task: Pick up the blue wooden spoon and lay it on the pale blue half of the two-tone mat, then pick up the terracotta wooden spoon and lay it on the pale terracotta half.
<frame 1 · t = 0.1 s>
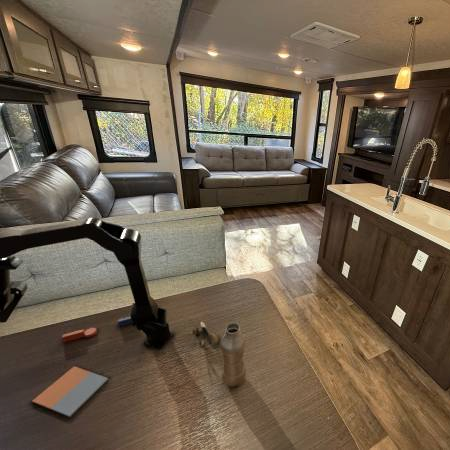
blue spoon: (132, 321, 88), on the table
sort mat: (72, 390, 66), on the table
terracotta spoon: (80, 336, 81), on the table
plastic bottle: (234, 379, 72), on the table
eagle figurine: (206, 342, 83), on the table
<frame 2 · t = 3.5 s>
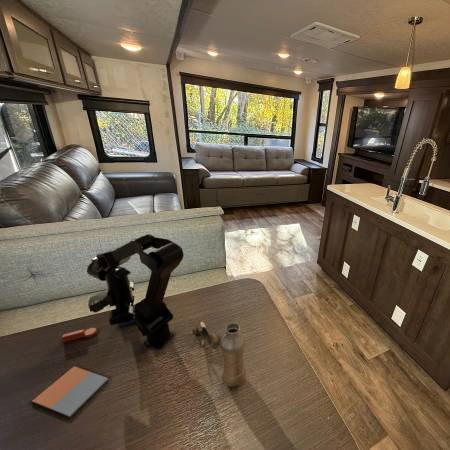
hand: (127, 320, 87), 1 cm above the table, tool pointing down, fingers closed on blue spoon, 1 cm apart
blue spoon: (132, 321, 88), on the table, touching gripper
everything else where it was.
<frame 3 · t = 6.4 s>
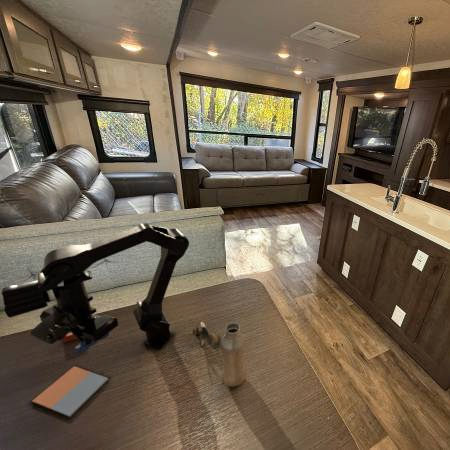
hand: (87, 343, 67), 10 cm above the table, tool pointing down, fingers closed on blue spoon
blue spoon: (93, 342, 69), point 9 cm above the table, touching gripper
everything else where it was.
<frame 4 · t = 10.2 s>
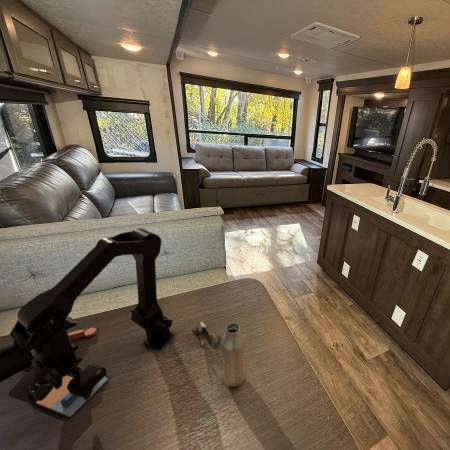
hand: (73, 392, 63), 2 cm above the table, tool pointing down, fingers open, 9 cm apart
blue spoon: (81, 392, 65), resting on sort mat
everything else where it was.
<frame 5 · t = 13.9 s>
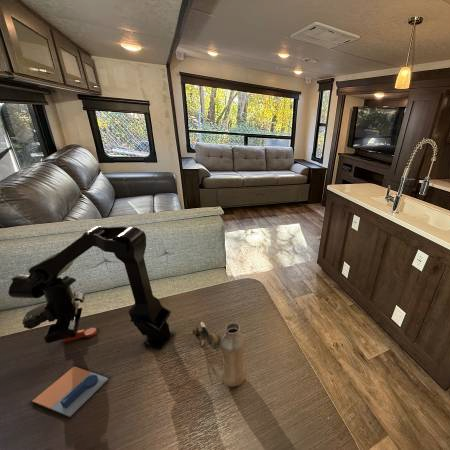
hand: (73, 335, 79), 1 cm above the table, tool pointing down, fingers closed on terracotta spoon, 1 cm apart
terracotta spoon: (80, 336, 81), on the table, touching gripper
everything else where it was.
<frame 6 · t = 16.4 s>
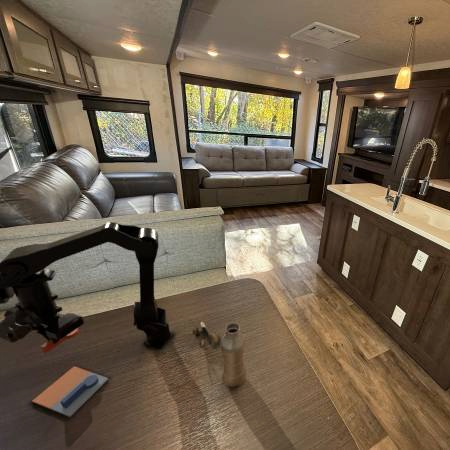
hand: (54, 341, 67), 10 cm above the table, tool pointing down, fingers closed on terracotta spoon
terracotta spoon: (61, 341, 69), point 9 cm above the table, touching gripper
everything else where it was.
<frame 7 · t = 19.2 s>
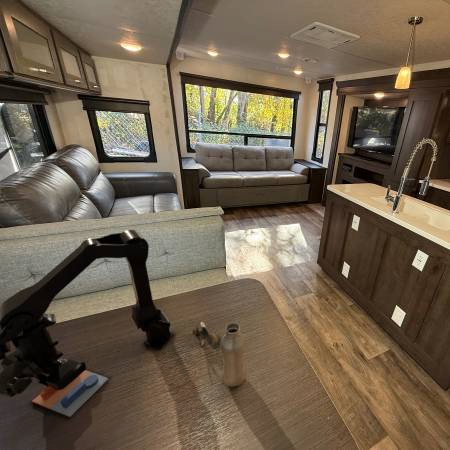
hand: (54, 387, 64), 2 cm above the table, tool pointing down, fingers closed
terracotta spoon: (61, 385, 66), resting on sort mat
everything else where it was.
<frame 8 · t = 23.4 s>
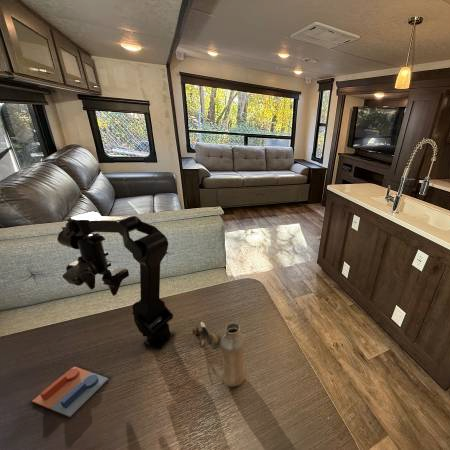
hand: (103, 291, 84), 12 cm above the table, tool pointing down, fingers open, 9 cm apart
nothing on the table moved.
at the end: blue spoon inside the target area on the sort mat (0.1 cm from its centre), point 0.5 cm above the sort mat's base; terracotta spoon inside the target area on the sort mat (0.4 cm from its centre), point 0.5 cm above the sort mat's base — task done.
